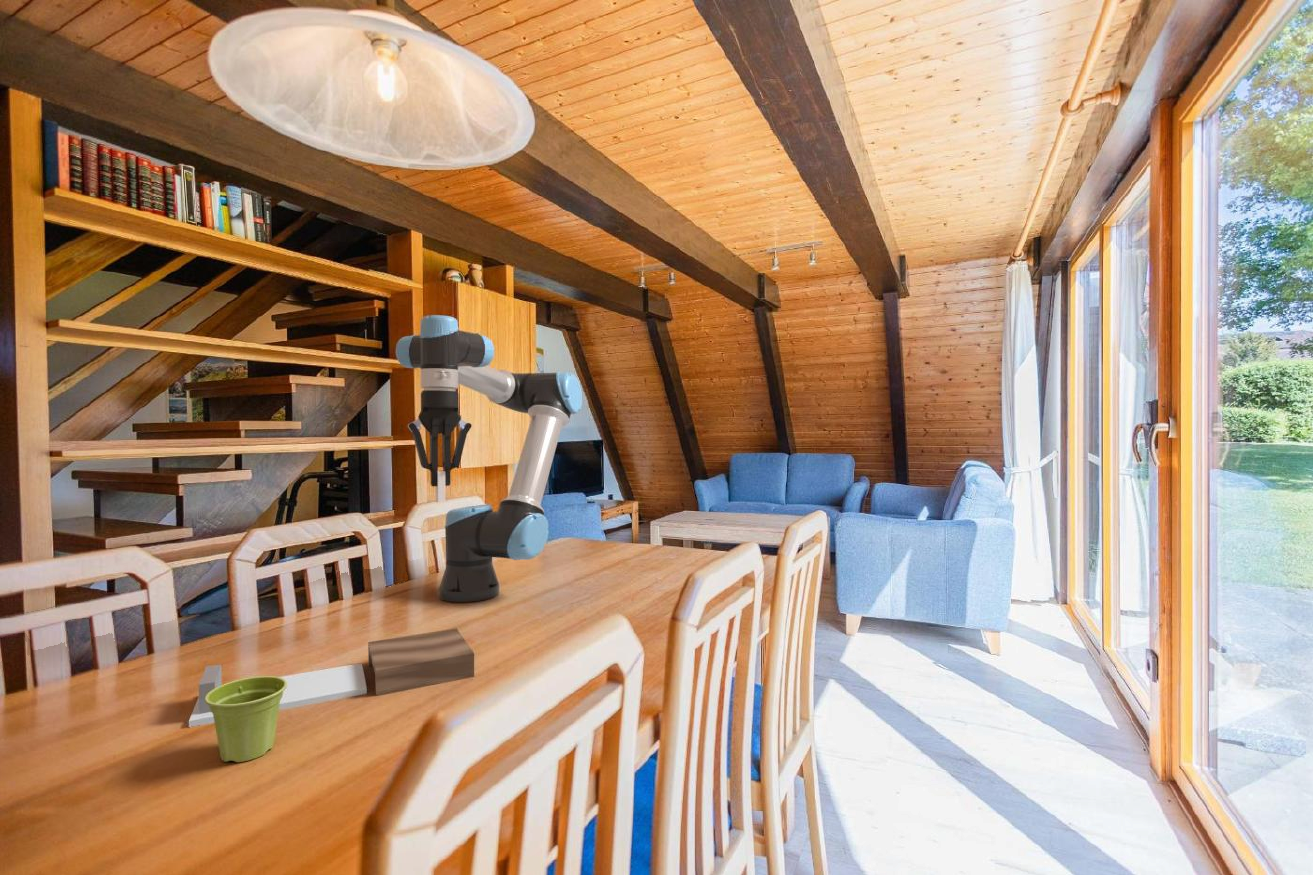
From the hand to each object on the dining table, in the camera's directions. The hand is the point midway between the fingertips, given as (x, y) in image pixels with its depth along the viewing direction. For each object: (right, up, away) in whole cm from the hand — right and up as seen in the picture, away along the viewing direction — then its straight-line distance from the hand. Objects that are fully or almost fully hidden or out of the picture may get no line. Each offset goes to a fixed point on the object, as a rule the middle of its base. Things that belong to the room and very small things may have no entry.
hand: (440, 501), depth 132 cm
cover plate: (-16, -30, -28) cm, 44 cm away
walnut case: (+3, -29, -18) cm, 34 cm away
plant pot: (-10, -30, -46) cm, 56 cm away
